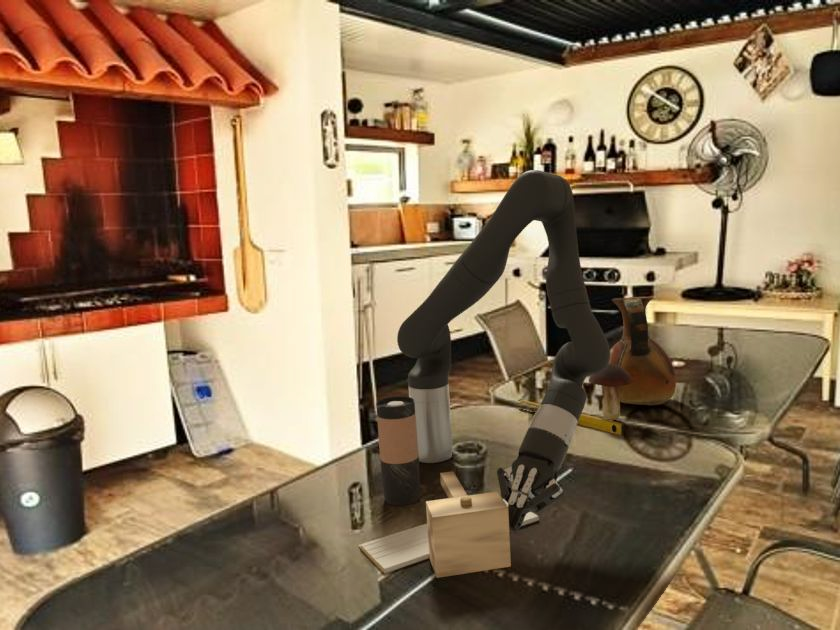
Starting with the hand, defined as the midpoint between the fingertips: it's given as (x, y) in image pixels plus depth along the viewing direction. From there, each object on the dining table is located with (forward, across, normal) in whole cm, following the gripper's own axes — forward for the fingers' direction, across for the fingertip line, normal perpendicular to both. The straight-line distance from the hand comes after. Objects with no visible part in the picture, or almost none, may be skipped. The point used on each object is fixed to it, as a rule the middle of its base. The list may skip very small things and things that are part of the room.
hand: (508, 530), depth 109 cm
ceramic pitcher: (-58, -23, +65) cm, 90 cm away
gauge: (+5, -9, +1) cm, 10 cm away
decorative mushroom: (-46, -21, +52) cm, 73 cm away
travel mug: (0, -30, +6) cm, 31 cm away
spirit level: (-41, -30, +48) cm, 70 cm away
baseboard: (+4, -13, +3) cm, 14 cm away
